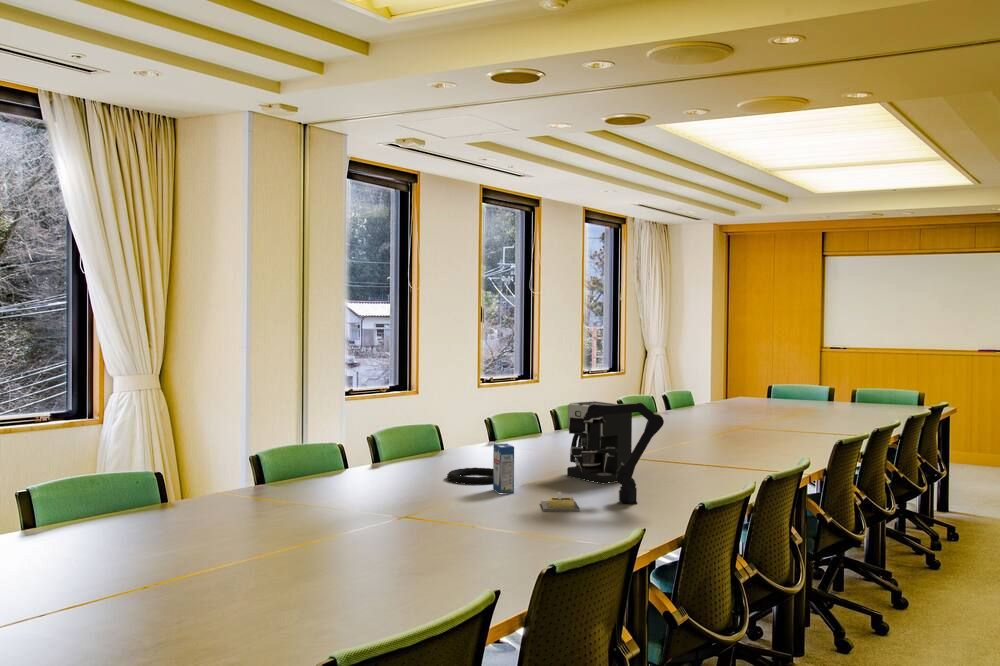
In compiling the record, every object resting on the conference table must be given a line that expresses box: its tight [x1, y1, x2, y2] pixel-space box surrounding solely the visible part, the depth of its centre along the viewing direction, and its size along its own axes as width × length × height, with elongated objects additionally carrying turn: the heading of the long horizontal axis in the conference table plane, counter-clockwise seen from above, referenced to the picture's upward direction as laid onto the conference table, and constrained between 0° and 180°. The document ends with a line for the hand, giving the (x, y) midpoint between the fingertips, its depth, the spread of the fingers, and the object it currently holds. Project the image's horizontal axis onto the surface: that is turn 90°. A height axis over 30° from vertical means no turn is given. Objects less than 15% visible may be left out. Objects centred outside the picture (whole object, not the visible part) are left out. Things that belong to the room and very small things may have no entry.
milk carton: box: [492, 443, 515, 494], centre depth 371 cm, size 10×6×20 cm, turn 18°
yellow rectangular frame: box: [546, 496, 575, 507], centre depth 341 cm, size 10×6×2 cm, turn 92°
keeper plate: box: [540, 491, 581, 512], centre depth 341 cm, size 14×14×6 cm
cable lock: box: [446, 467, 493, 485], centre depth 399 cm, size 28×4×30 cm
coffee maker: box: [566, 400, 633, 484], centre depth 406 cm, size 28×20×35 cm
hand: (593, 472), depth 353 cm, fingers open, 9 cm apart
